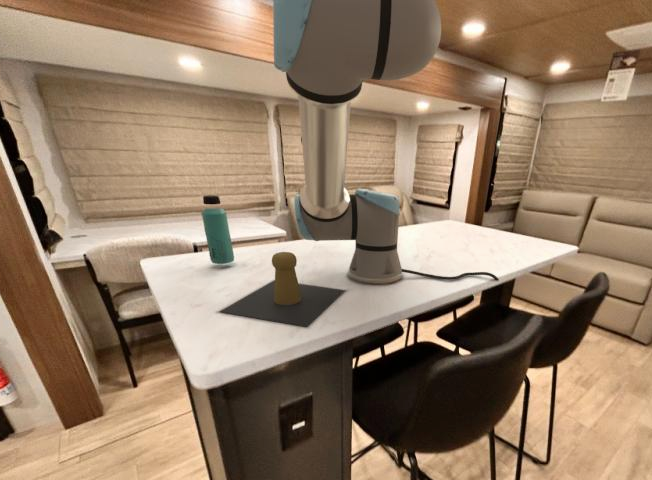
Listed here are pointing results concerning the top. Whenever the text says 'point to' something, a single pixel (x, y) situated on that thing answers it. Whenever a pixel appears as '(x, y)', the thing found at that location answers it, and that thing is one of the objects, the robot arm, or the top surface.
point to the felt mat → (295, 314)
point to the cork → (285, 279)
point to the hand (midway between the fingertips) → (323, 172)
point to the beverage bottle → (217, 232)
